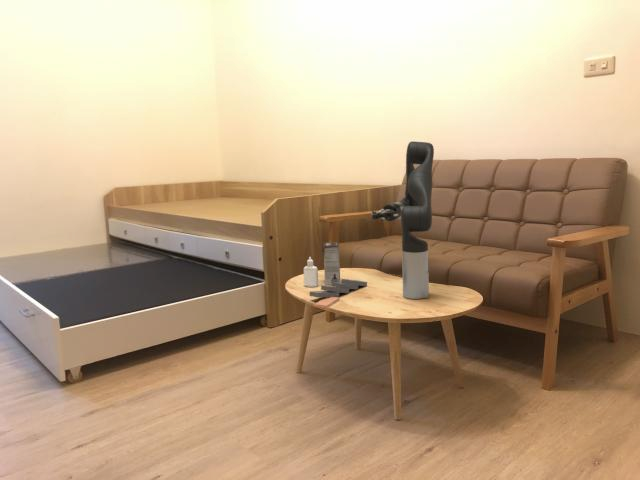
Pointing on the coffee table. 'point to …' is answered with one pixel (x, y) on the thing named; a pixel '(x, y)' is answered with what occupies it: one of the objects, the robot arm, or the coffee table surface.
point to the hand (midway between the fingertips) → (374, 217)
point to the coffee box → (331, 262)
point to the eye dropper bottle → (310, 274)
